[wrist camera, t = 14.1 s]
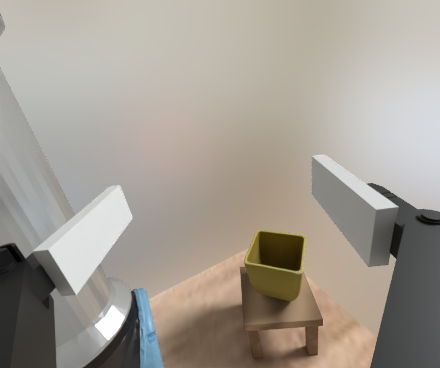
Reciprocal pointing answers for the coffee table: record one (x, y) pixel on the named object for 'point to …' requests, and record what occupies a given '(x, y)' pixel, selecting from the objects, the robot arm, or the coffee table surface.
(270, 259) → the flower pot
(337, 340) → the coffee table surface
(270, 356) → the coffee table surface
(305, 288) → the stool
